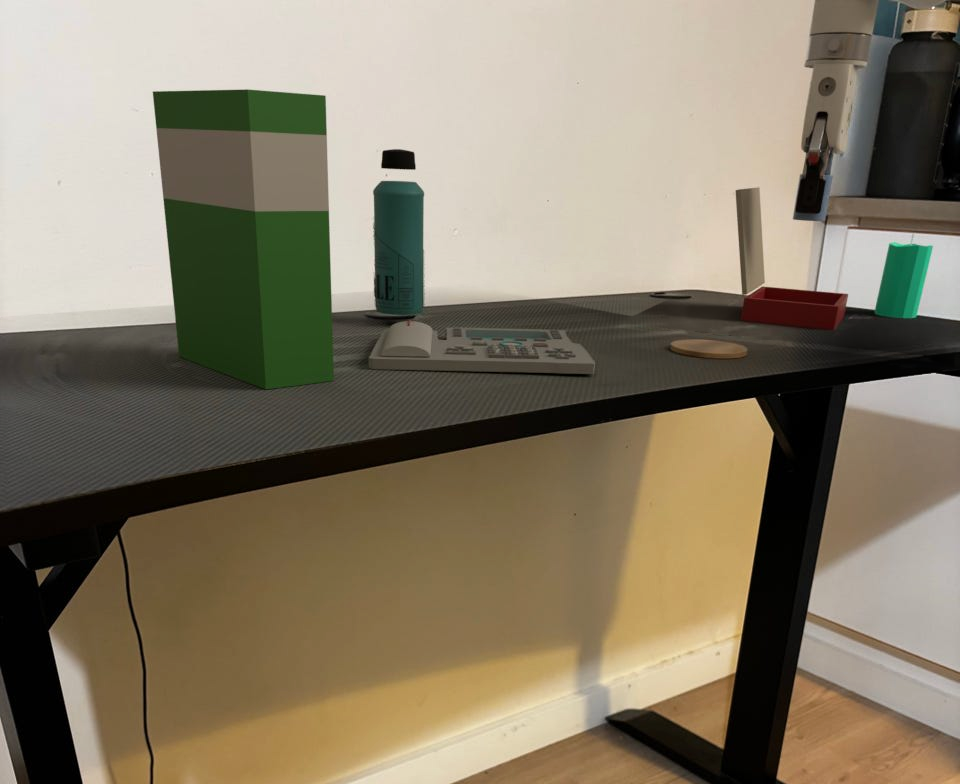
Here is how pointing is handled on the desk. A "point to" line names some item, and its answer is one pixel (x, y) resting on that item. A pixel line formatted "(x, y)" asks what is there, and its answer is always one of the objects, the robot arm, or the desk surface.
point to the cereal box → (249, 232)
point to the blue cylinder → (822, 214)
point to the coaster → (709, 349)
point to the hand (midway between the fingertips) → (810, 210)
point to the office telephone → (479, 350)
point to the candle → (903, 280)
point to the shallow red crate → (794, 307)
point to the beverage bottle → (398, 240)
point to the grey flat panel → (750, 238)
